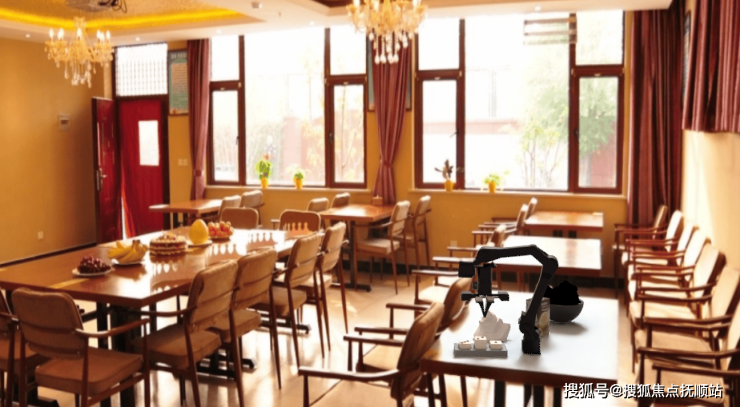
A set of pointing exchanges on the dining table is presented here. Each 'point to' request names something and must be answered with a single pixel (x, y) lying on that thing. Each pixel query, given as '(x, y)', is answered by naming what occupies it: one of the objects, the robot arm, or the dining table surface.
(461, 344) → the key three dots
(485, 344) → the key two dots
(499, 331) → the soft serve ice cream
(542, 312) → the coffee box
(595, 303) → the dining table surface
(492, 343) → the key one dot
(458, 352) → the key board
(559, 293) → the coal bowl
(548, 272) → the robot arm
